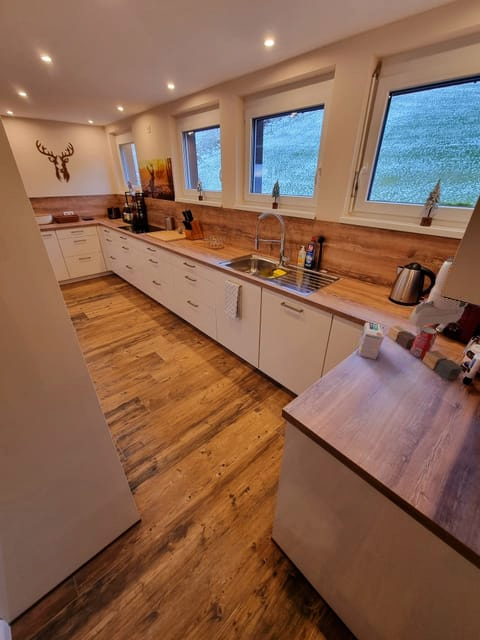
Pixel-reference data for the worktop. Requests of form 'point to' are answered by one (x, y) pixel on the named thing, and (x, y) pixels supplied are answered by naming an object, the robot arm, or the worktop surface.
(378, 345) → the light bulb box
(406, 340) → the block row
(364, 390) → the worktop surface
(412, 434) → the worktop surface
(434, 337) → the beverage can
